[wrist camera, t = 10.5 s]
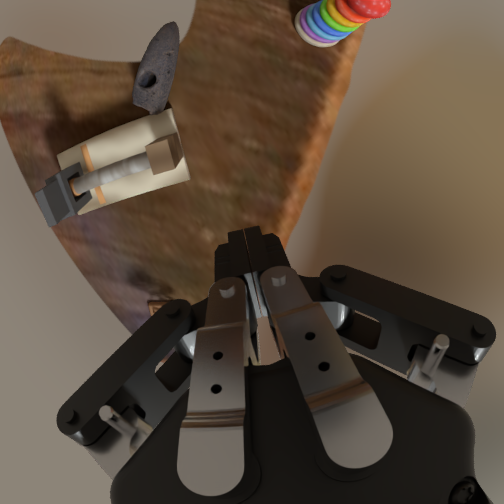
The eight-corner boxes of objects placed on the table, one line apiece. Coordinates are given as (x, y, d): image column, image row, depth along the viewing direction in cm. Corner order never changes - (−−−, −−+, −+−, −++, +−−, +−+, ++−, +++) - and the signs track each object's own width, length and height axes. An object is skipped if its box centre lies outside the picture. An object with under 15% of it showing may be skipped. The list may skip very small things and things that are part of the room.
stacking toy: (317, 56, 33) (378, 36, 18) (283, 22, 30) (325, -22, 14) (348, 34, 31) (417, 12, 15) (316, 0, 28) (371, -41, 12)
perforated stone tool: (161, 25, 28) (151, 12, 22) (193, 29, 29) (189, 16, 23) (136, 110, 35) (121, 112, 29) (167, 114, 36) (157, 117, 31)
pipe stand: (59, 153, 36) (29, 168, 28) (172, 108, 36) (159, 109, 28) (81, 212, 42) (57, 237, 34) (190, 177, 42) (183, 197, 34)
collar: (65, 168, 33) (29, 190, 25) (79, 161, 33) (44, 182, 25) (78, 203, 37) (47, 233, 28) (92, 198, 37) (62, 227, 28)
